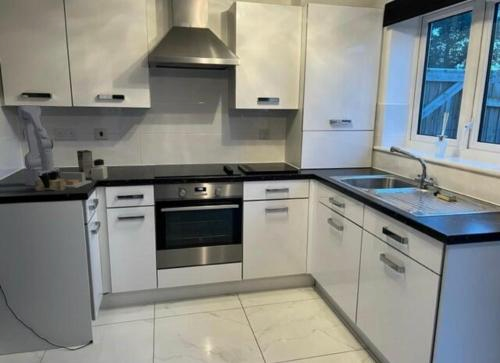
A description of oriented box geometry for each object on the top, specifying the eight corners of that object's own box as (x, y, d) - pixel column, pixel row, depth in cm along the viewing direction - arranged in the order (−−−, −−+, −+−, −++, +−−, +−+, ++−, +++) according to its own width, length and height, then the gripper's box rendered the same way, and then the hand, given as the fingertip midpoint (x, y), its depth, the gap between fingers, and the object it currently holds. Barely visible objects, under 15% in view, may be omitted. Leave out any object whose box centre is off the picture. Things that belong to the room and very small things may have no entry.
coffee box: (78, 175, 236) (76, 150, 233) (89, 174, 241) (86, 149, 237) (84, 177, 230) (81, 151, 226) (94, 176, 234) (92, 151, 231)
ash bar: (35, 190, 195) (34, 181, 194) (40, 188, 199) (39, 179, 198) (60, 190, 194) (59, 181, 193) (65, 189, 198) (64, 180, 197)
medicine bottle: (107, 177, 229) (106, 158, 226) (103, 179, 222) (102, 160, 219) (96, 177, 228) (94, 158, 226) (91, 180, 222) (89, 160, 219)
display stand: (42, 186, 204) (41, 176, 202) (60, 181, 218) (59, 171, 217) (75, 187, 200) (74, 177, 199) (91, 182, 215) (90, 172, 214)
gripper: (44, 163, 186) (47, 189, 189) (63, 159, 200) (65, 184, 203) (31, 163, 187) (35, 189, 190) (51, 159, 201) (54, 183, 204)
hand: (50, 186), depth 196 cm, fingers closed on ash bar, 4 cm apart
